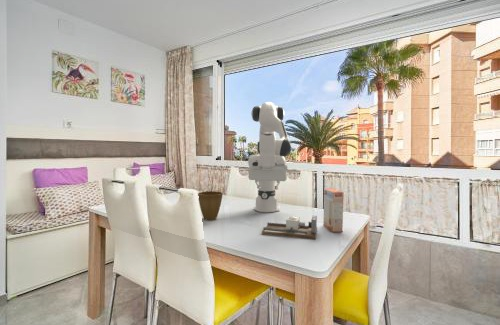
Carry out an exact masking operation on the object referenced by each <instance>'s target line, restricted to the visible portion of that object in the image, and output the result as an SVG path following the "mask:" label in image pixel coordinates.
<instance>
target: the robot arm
mask: <svg viewBox="0 0 500 325" xmlns="http://www.w3.org/2000/svg"><path fill="white" fill-rule="evenodd" d="M250 114H251V116H250V117H251V119H252V120H253V122H259V132H258V133H259V134H258V136H259V138H258V142H257V145H256V146H257V153H256V154H251V155H250V156H249V157H248V160H247V164H248V167H249V170H248V180H250V181H254V183H255V185H256V189H257V197H256V198H255V207H253V210H254V211H257V212H260V213H274V212H281V206H280V205H279V203H278V199H277V196H276V191H277V190H278V189H279V185H280V184H281V182H286V181H287V180H288V177H287V176H288V174H287V172H288V165H287V162H286V161H287V160H286V158H285V157H287V156H289V155H290V154H291V153H292V143H291V141H290V138H289V135H288V133H287V130H286V127H285V124H284V121H283V120H284V117H285V110H284V107H283V106H281V105H275V104H274V103H273V102H271V101H266V102H263V103H262V105H256V106H253V107H252V110H251V113H250ZM276 133H277V134H279V135H278V136H279V138H276ZM275 183H276V185H275Z"/></svg>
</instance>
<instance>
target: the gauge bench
mask: <svg viewBox="0 0 500 325" xmlns="http://www.w3.org/2000/svg"><path fill="white" fill-rule="evenodd" d="M265 227H269V228H280V229H286V227H283V226H272V225H267V224H266V226H265ZM298 230H303V231H307V234H305V233H295V232H284V231H273V230H263V229H262V231H261V234H262V235H266V236H267V235H268V236H275V237H287V238H295V239H296V238H298V239H299V238H300V239H308V240H316V237H317V232H318V229H317V230H316V234H311V228H309V229H307V228H299V229H298Z"/></svg>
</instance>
